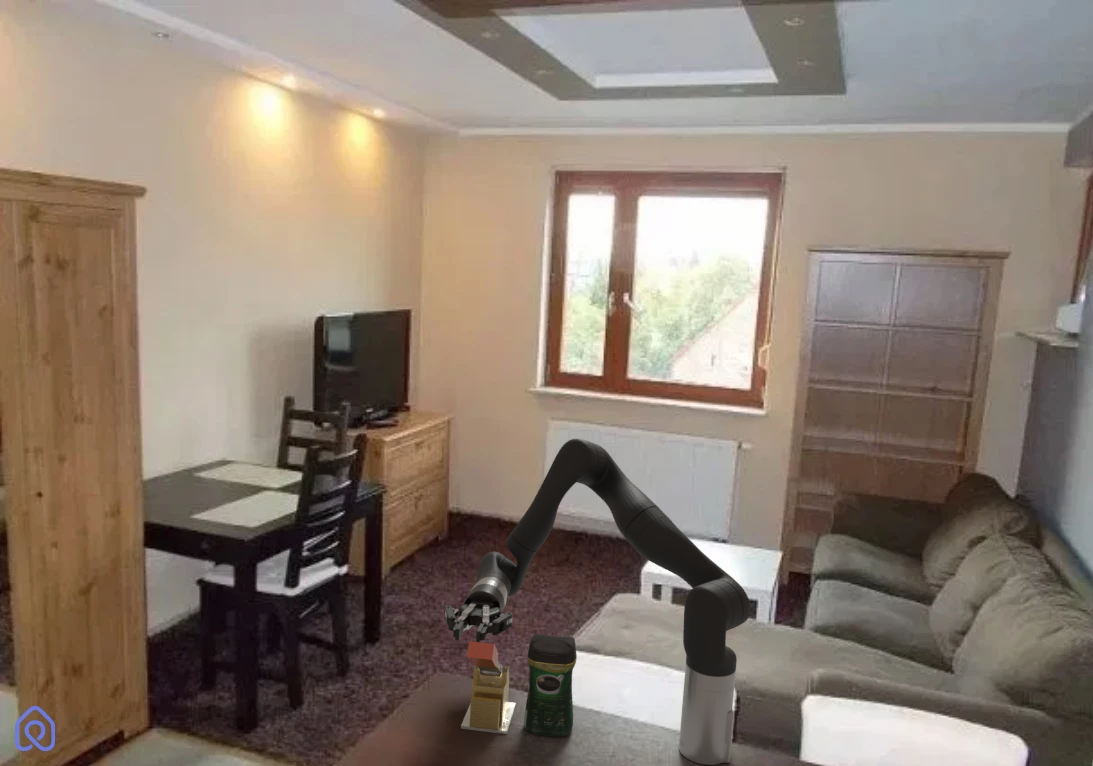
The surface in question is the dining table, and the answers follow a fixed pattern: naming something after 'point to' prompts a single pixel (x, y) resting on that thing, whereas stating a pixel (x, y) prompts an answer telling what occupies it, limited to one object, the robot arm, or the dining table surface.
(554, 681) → the coffee jar
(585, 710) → the dining table surface
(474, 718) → the gold lever base
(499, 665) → the lever
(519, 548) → the robot arm
